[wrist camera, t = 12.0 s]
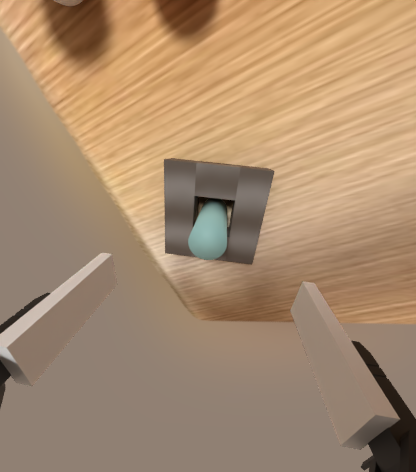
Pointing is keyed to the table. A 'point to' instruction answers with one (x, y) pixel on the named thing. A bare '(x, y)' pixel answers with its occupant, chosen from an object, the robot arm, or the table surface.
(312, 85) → the table surface
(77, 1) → the cup
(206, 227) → the peg
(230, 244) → the socket
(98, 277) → the robot arm
